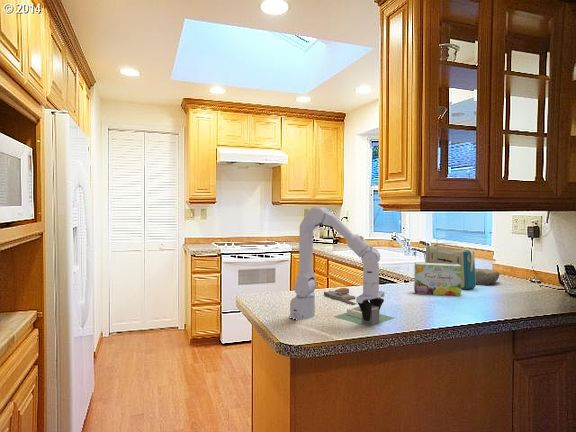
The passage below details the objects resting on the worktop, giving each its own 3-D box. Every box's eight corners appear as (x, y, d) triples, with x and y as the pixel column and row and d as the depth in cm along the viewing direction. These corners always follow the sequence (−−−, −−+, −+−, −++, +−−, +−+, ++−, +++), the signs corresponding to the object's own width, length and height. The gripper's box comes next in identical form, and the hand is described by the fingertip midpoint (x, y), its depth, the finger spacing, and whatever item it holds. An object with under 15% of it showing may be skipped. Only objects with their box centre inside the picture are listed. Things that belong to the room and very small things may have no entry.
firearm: (385, 301, 179) (358, 305, 172) (385, 306, 179) (358, 310, 172) (344, 287, 204) (320, 290, 197) (344, 292, 204) (320, 295, 197)
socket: (364, 319, 153) (364, 313, 153) (346, 314, 159) (346, 309, 159) (377, 314, 158) (377, 309, 158) (360, 310, 165) (360, 305, 165)
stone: (461, 282, 225) (462, 268, 225) (483, 279, 234) (484, 265, 234) (484, 287, 213) (484, 272, 213) (506, 283, 222) (507, 269, 221)
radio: (423, 280, 232) (423, 237, 231) (433, 279, 235) (434, 236, 234) (465, 290, 205) (466, 241, 204) (476, 289, 208) (477, 241, 207)
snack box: (414, 294, 198) (415, 263, 197) (414, 291, 203) (414, 261, 203) (461, 296, 193) (461, 265, 192) (459, 293, 198) (459, 263, 198)
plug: (371, 325, 145) (372, 309, 145) (361, 322, 149) (362, 306, 148) (379, 322, 148) (379, 306, 148) (369, 320, 152) (369, 304, 151)
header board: (369, 329, 144) (369, 326, 144) (333, 319, 156) (333, 316, 156) (395, 320, 155) (395, 317, 155) (359, 311, 167) (359, 308, 167)
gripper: (367, 287, 140) (367, 325, 141) (391, 281, 150) (391, 317, 150) (351, 283, 145) (351, 321, 146) (375, 278, 155) (375, 313, 155)
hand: (370, 319), depth 148 cm, fingers closed on plug, 4 cm apart
